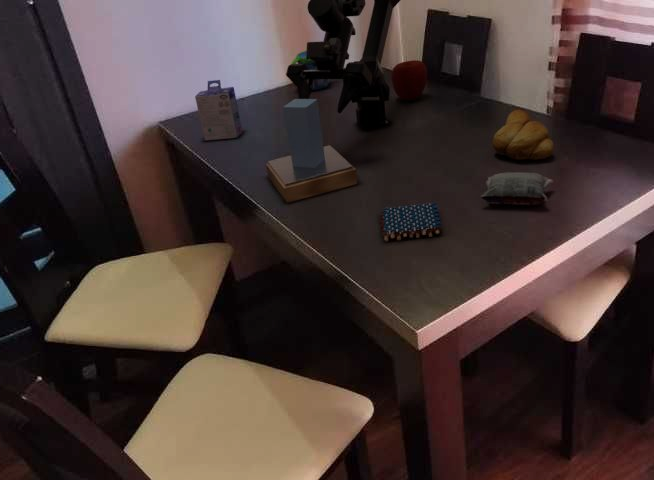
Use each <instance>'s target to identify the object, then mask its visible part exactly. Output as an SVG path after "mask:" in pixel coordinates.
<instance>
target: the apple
mask: <svg viewBox="0 0 654 480" xmlns="http://www.w3.org/2000/svg"><path fill="white" fill-rule="evenodd" d="M390 78H391V84H392V87H393V90H394V92H395V95H397V97H398V98H399V99H401V101H405V102H409V101H415V100H417V99H418V98H419V97H420V96H421V95H422V93H423V92H424V90H425V88H426V86H427V85H426V84H427V79H428V69H427V66H426V64H425V63H424V62H423V61H421V60H419V59H417V60H406V61H402V62H399V63H397V64H395V66H394V67H393V68H392V70H391V74H390Z"/></svg>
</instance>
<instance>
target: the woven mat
mask: <svg viewBox="0 0 654 480" xmlns="http://www.w3.org/2000/svg"><path fill="white" fill-rule="evenodd" d="M380 219H381V221H380V222H381V228H382V229H381V232H382V233H381V234H382V236H383V237H384V241H385V242H386V243H387V242H388V241H389V238H390V239H395V238H396V240H397V241H401V240H402V237H403V238H407V237H408V236H409V238H410V239H412V238H414V235H415V238H420V237H421V235H422V236H426V235H427V234H428V238H431V237H433V232H434V233H435V235H439V234H440V231H442V229H443V228H442V222H441V218H440V214H439V210H438V206H437V202H432V203H428V202H425V204H424V203H423V204H422V205H421V204H419V203H417V204H414V205H412V204H409V205H408V206H407V205H405V206H404V205H401V206H398V207H396V206H393V207H390V208H389V207H384V208H383V209H382V211H381V212H380ZM401 235H402V237H401Z"/></svg>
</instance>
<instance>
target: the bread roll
mask: <svg viewBox="0 0 654 480" xmlns="http://www.w3.org/2000/svg"><path fill="white" fill-rule="evenodd" d="M492 140H493V142H492V147H493V150H494V151H495V152H496V154H498V155H503V156H507V157H508V158H511V159H513V160H526V159H528V160H533V161H537V160H543V159H546V158H549V157H550V156H551V155H552V154H553V153H554V149H555V148H554V142H553V140H552V139H550V132H549V131H548V128H547V127H546V125H544V124H543V123H542V122H540V121H538V120H537V121H536V120H532V118H531V117H530V115H529V113H528V112H527V111H526V110H524V109H521V108H520V109H514V110H513V111H511V112H510V113H509V114H508V116H507V119H506V121H505V125H503V126H502V127H501V128H500V129H499V130H497V131H496V133H495V134H494V136H493V139H492Z"/></svg>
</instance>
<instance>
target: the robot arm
mask: <svg viewBox="0 0 654 480" xmlns="http://www.w3.org/2000/svg"><path fill="white" fill-rule="evenodd" d="M400 2H401V0H373V7H372V12H371V15H370V21H369V23H368V29H367V34H366V39H365V43H364V46H363V52H362V56H361V58H360V60H359V61H358V60H354V61H351V62H347V63H346V61H348V60H349V59H350V54H349V51H348V50H349V47H350V42H351V37H352V36H355V35H356V34H357V33H356V28H355V27H354V23H353V22H352V21H351V18H350V17H359V16H361V14H362V12H363V10H364V9H365V6H366V0H309V1H308V3H307V11H308V14H309V16H311V17H310V18H312V20H313V21H314V22H315V24H316V25H317V26H318V28H319V29H320V30H321V31H322V32H324V37H323V40H322V41H308V42H306V50H305V51H306V59H311V60H313V62H312V64H313V65H314V66H316V67H317V70H309V69H308V67H307V66H306V65H305V64H298V63H295V64H292V63H291V64H289V65H288V66H287V68H286V72H285V77H287V78H288V80H290V81H291V83H292V84H293V86H295V87H296V90H297V96H298V99H310V96H311V93H312V91H313V90H312V88H311V87H310V86H311V85H312V83H313V79H329V80H342V88H341V92H340V96H339V100H338V103H337V114H341V113H343V111H344V110H345V109H346V107H347V106H348V105H349V104H350V102H351V103H352V104H355V103H356V105H357V107H355V114H356V115H355V116H356V125H358V126H359V127H360V128H361V129H363V130H364V131H368V130H372V129H376V128H380V127H384V126H387V125H389V121H388V120H387V119H386V105H385V102H388V101H389V100H390V93H391V88H390V86H389V85H388V82H387V81H386V80H385V73H384V70H383V67H382V60H383V55H384V51H385V47H386V43H387V38H388V33H389V30H390V29H389V28H390V24H391V19H392V15H393V11H394V8H395V7H396V6H397V5H398V4H399V3H400ZM345 64H346V65H345Z"/></svg>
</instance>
